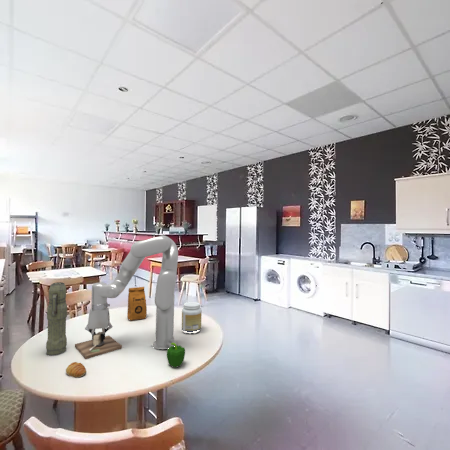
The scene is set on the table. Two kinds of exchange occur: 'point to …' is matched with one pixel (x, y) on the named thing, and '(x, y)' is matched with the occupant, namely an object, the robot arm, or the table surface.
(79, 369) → the pastry
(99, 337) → the knob
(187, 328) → the supplement tub
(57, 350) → the thermos
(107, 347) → the wooden board
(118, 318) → the table surface
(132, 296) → the coffee package
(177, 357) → the bell pepper
